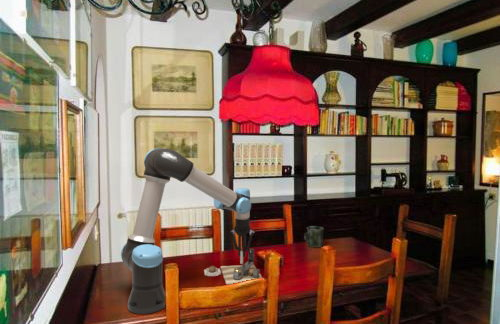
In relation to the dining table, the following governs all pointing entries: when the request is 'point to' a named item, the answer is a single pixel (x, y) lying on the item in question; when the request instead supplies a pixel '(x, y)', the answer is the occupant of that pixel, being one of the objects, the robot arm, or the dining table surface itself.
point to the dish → (212, 273)
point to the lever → (245, 265)
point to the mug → (314, 236)
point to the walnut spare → (212, 269)
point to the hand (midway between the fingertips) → (241, 262)
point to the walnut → (251, 272)
